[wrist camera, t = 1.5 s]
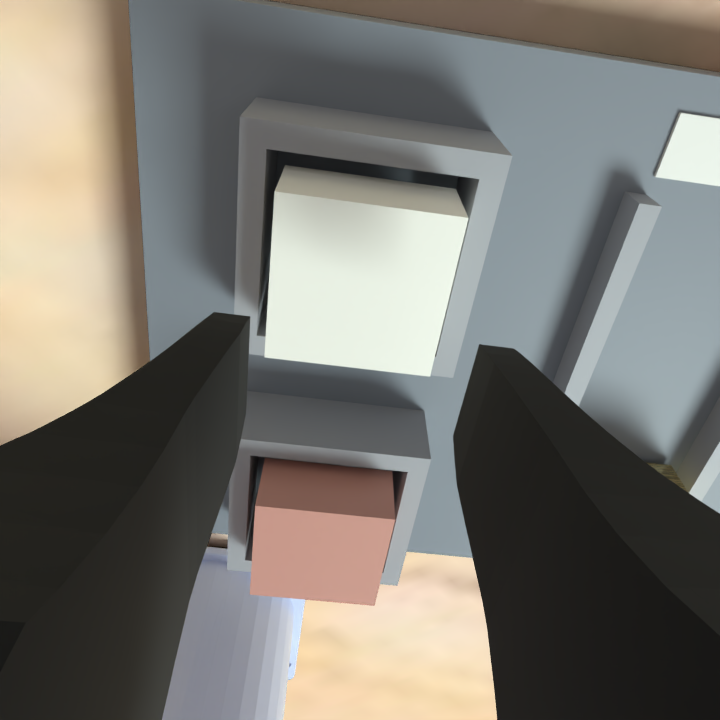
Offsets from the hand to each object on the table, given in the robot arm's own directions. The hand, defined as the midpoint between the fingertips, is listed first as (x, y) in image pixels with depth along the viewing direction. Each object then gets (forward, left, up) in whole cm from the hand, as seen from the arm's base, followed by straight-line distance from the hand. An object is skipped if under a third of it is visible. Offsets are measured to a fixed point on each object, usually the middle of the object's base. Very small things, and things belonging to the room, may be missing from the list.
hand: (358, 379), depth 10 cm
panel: (-4, -4, -9) cm, 11 cm away
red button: (-9, 0, -5) cm, 10 cm away
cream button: (0, 0, -5) cm, 5 cm away
